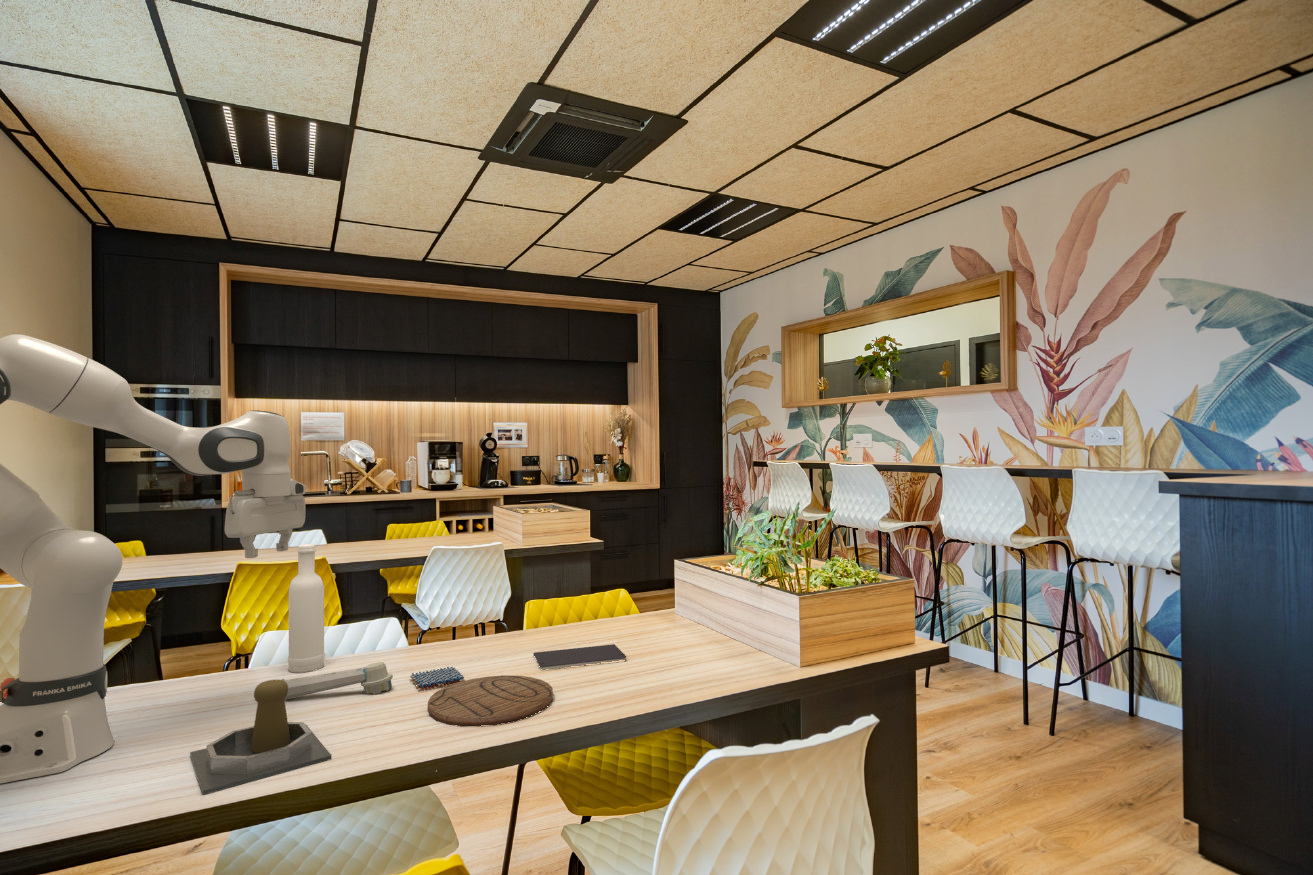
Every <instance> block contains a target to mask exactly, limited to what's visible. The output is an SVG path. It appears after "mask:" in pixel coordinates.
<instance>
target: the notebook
mask: <svg viewBox="0 0 1313 875" xmlns="http://www.w3.org/2000/svg"><path fill="white" fill-rule="evenodd" d="M534 656H535V657H534ZM533 657H534V659H535V658H536V659H535V661H536V660H537V661H536V663H537V662H538V663H537V665H538V664H539V665H538V667H539V666H540V667H539V669H540V670H541V669H542V670H546V669H555V670H559V669H558V668H564V669H566V668H565V667H571V666H582V665H586V664H597V663H601V662H612V661H619V660H625V659H627V656H626V655H625V653H624V652H623V651H622V650H621V649H620V648H619V646H617V645H616V644H615V643H611V644H603V645H594V646H586V647H583V646H582V647H575V648H567V649H566V648H565V649H554V650H546V651H544V650H543V651H535V652H533ZM582 667H583V666H582ZM542 670H541V671H542ZM546 671H547V670H546Z"/></svg>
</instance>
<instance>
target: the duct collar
mask: <svg viewBox="0 0 1313 875" xmlns="http://www.w3.org/2000/svg"><path fill="white" fill-rule="evenodd" d="M288 727H289V734H290V743H289V744H288V745H287V746H285V747H282V748H278V749H274V750H270V751H266V752H262V753H258V752H253V751H251V744H252V738H253V731H254V725H253V726H248V727H244V728H240V729H236V730H232V731H230V732H228V733H226V734H225V735H222V736H221V737H219V738H218V739H215V740H214V741H212V742H210V743H208V744H207V745H206V747H205V748H202V749H198V750H193V751H190V752H189V757H190V760H191V764H192V767H193V770H194V772H195V775H196V778H197V782H198V784H199V787H200V791H201V794H202V796H204V795H208V794H211V793H214V792H219V791H222V790H225V789H229V788H232V787H236V786H240V785H243V784H246V783H251V782H255V781H258V780H262V779H264V778H268V777H271V776H276V775H279V774H283V773H286V772H290V771H294V770H297V769H299V768H304V767H307V766H311V765H314V764H315V765H316V764H318V763H322V762H326V761H329V760H332V754H331V753H330V752H329V750H328V749H327V748H326V747H325V745H324V744H323V743H322V742H321V740H320V739H318V737H317V736H316V734H315V733H314V732H313V731H312V730H311V728H310V727H309V726H308V725H307V724H306V723H305V722H303V721H301V722H300V721H288Z"/></svg>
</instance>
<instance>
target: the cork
mask: <svg viewBox="0 0 1313 875" xmlns="http://www.w3.org/2000/svg"><path fill="white" fill-rule="evenodd" d="M287 693H288V685H287V683H286V682H285V681H283V680H282V679H269V680H266V681H265V680H264V681H262V682H261V683H258V685H256V686H255V688H254V692H253V697H254V701H255V702H256V703H257V706H256V713H255V718H254V725H253V726H254V731H253V738H252V744H251V751H253V752H258V753H262V752H266V751H270V750H274V749H278V748H282V747H285V746H287V745H288V744H289V743H290V734H289V727H288V722H289V721H288V715H287V708H286V700H285V697H286V696H287Z"/></svg>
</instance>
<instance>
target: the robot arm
mask: <svg viewBox="0 0 1313 875" xmlns="http://www.w3.org/2000/svg"><path fill="white" fill-rule="evenodd" d="M132 394H133V393H132V390H131V386H130V384H129V383H128V380H126V379H125V378H124V377H122V376H121V375H120V374H118V373H117V372H115V371H114V370H112V369H110V368H109V367H107V366H105V365H104V364H101V363H99V362H98V361H95V360H94V359H91V358H89V357H87V356H85V355H82V354H80V353H78V352H76V351H74V350H71V349H68V348H65V346H60V345H58V344H55V343H52V342H50V341H46V340H43V339H40V338H38V337H37V338H36V337H33V336H29V335H27V334H26V335H25V334H20V333H19V334H18V333H16V334H15V333H14V334H12V333H11V334H8V335H5V336H2V337H0V405H2V404H3V403H5V402H6V401H14V402H18V403H20V404H21V403H22V404H25V405H28V406H30V407H33V408H35V409H38V410H41V411H43V412H45V413H48V414H50V415H52V416H56V417H58V418H60V419H64V420H66V421H70V422H73V423H76V424H80V425H83V426H87V427H92V428H96V429H100V430H105V431H108V432H113V433H117V434H119V435H122V437H123V436H124V437H126V438H128V439H130V440H133V441H135V442H137V443H140V444H141V445H144V446H147V447H149V448H152V449H154V450H155V451H158V452H160V453H161V454H163V455H164V456H166V457H167V458H168V459H169V460H170V461H171V462H172V463H173V465H175V467H177V468H178V469H179V470H181V471H182V472H184V473H186V474H188V475H191V476H197V477H204V476H209V475H226V474H232V473H235V472H237V471H241V479H242V481H241V484H242V486H241V487H242V488H241V489H242V490H239V489H238V490H236V491H234V492H233V494H231V496H230V497H229V501H228V503H227V506H226V511H225V518H224V520H225V521H224V534H225V536H226V537H227V538H232V539H235V538H236V539H237V538H239V543H240V544H241V546H242V548H243V550H244V557H245V559H254V558H257V557H258V556H259V548H256V546H255V544H254V541H255V539H256V538H255V537H256V536H258V535H263V534H269V533H275V532H278V534H279V535H280V536H279V541H278V542H276V543H275V544H276V545H275V547H276V548H275V549H276V552H285V551H288V550H289V543H290V540H291V538H292V535H293V529H299V528H302V527H303V526H304V524H305V521H306V500H305V497H304V495H305V494H306V489H307V487H306V485H305V484H304V483H302V482H300V481H297V480H296V479H293V478H292V472H291V469H290V465H289V464H290V463H289V461H290V457H291V436H290V429H289V427H290V426H289V423H288V421H287V419H286V418H285V417H284V415H281V414H279V413H277V412H273V411H266V410H259V409H256V410H254V409H253V410H248V411H246V412H245V413H244V414H242V415H241V416H239V417H237V418H235V419H233V420H229V421H227V422H225V423H221V424H219V425H215V426H207V427H198V426H197V427H193V426H185V425H181V424H179V423H177V422H175V421H172V420H170V419H169V418H166V417H165V416H162V415H161V414H158V413H156V412H154V411H152V410H150V409H147V408H145V407H144V406H142V405H141V404H139V403H138V402H137V401H136V400H135V398H134V396H133V395H132ZM123 562H124V561H123V554H122V552H121V549H120V548H119V547H118V546H117V544H116V543H114V542H113V541H112V540H110V539H109V538H108V537H107V536H105V535H103V534H101V533H98V532H96V531H91V530H81V529H76V528H74V527H73V526H70V525H69V524H67V523H66V522H65V521H64V520H62V519H61V518H60V517H59V516H58V515H57V514H56V513H55V512H54V511H53V510H52V508H50V506H48V505H47V504H46V503H45V501H43V499H42V498H41V496H40V494H39V493H38V492H37V491H36V490H35V489H33V488H32V487H31V486H30V485H28V484H27V483H26V482H25V481H24V480H22V479H21V478H20V477H18V476H17V475H16V474H14V473H13V472H12V471H11V470H10V469H8V468H7V467H5V466H4V465H3V464H2V463H0V569H1V570H2V571H3V572H4V573H6V574H7V575H9V576H10V577H11V578H12V579H14V580H15V581H16V582H18V583H19V584H21V585H22V586H24V587H27V588H30V589H31V593H30V601H29V604H28V609H27V614H26V617H25V621H24V623H23V625H22V627H21V629H20V631H19V636H18V637H19V639H18V645H19V646H18V677H17V678H16V679H15V677H7V678H5V679H3V681H2V682H1V684H0V691H1V692H0V693H1V694H0V696H1V698H0V699H1V705H0V784H6V783H10V782H15V781H20V780H26V779H27V780H28V779H31V778H37V777H42V776H48V775H53V774H59V773H62V772H65V771H67V770H69V769H71V768H73V767H74V766H76V765H78V764H80V763H81V762H84V761H86V760H90V759H92V758H93V757H96V756H99V755H100V754H102V753H104V752H105V751H107V750H109V749H110V748H111V747H112V746H114V744H115V739H114V737H113V734H112V730H111V728H110V724H109V719H108V715H107V709H106V708H107V707H106V701H105V697H106V696H107V692H108V671H107V665H106V664H105V663H104V652H105V651H104V649H105V648H104V646H105V645H104V644H105V640H104V639H105V638H104V637H105V621H106V616H107V610H108V605H109V602H110V598H111V594H112V589H113V586H114V582H115V580H116V579H117V577H118V576H119V574H120V573H121V570H122V567H123Z"/></svg>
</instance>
